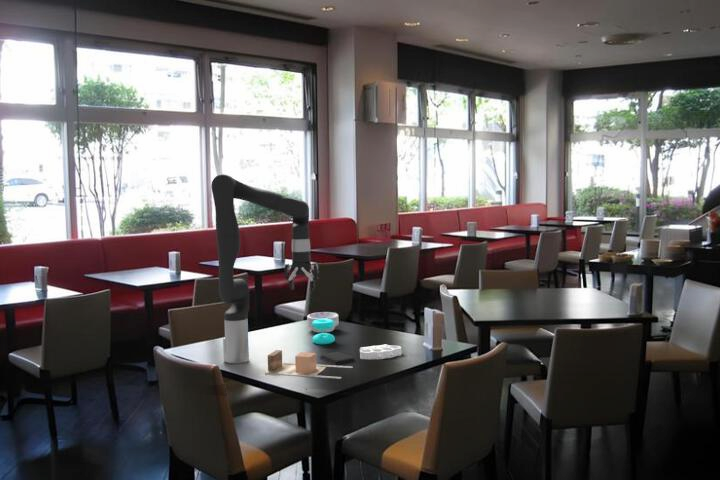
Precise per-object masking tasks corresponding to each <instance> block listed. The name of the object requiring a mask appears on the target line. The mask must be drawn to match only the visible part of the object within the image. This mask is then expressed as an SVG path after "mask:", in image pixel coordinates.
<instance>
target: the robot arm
mask: <svg viewBox="0 0 720 480" xmlns="http://www.w3.org/2000/svg"><path fill="white" fill-rule="evenodd" d="M210 188H211V192H212V198H213V203H214V209H215V235H216V236H215V237H216V246H217V247H216V248H217V256H218V257H217V258H218V260H217V261H218V294H219V298H220V300H221V302H222V303H224V304H227V305H228V304H231V306H230V307H229V308H228V309H227V310H225V312H224V314H223V315H224V317H223V318H224V338H223V339H222V346H223V347H222V349H223V362H225V363H228V364H241V363H247V362H248V361H249V360H250V356H249V355H250V352H249V351H250V348H249V324H248V321H249V320H248V318H249V317H248V314H249V311H250V287H249V285H248V282H247V281H246V280H245V279H243V278H234V268H235V263H236V261H237V258H238V255H239V253H240V250H241V234H240V227H239V224H238V220H237V216H236V213H235V205H234V203H235V202H234V201H235V199H236V200H242V201H245V202H249V203H251V204H254V205H256V206H259V207H261V208H264V209H267V210H271V211H274V212H278V213H282V214H285V215H287V216H289V217H291V218H292V227H291V264H289V263H286V264H285V265H284V276H283V277H284V279H285V280H288V284H289V285H288V287H289V289H290V290H291V291H293V290H295V280H294V279H295V277H296V276H306V277H307V278H308V279H309V280H310V281H309V289H310V291H314V289H316V281H317V280H318V279H320V271H319V269H320V268H319V264H317V263H316V264H311V263H312V262H311V260H312V259H311V241H310V228H309V227H310V226H309V224H310V206H309V205H308V203H307V202H306V201H304V200H298V199H295V198H291V197H287V196H286V195H283V194H280V193H279V192H278V193H277V192H274V191H271V190H267V189H262V188H258V187H254V186H251V185H248V184H245V183H243V182H241V181H240V180H236V179H235V178H233V176H230V175H228V174H223V173H221V174H217V175H216V176H214V177H213V180H212V182H211V187H210ZM291 269H292V270H293V271H292V272H290V271H291ZM311 269H312V270H313V272H312V271H311ZM290 273H291V274H290Z"/></svg>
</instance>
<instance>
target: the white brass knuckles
mask: <svg viewBox="0 0 720 480" xmlns="http://www.w3.org/2000/svg"><path fill="white" fill-rule="evenodd" d="M397 356H398V357H400V356H402V347H401V346H400V345H389V344H385V343H383V344H380V345H371V346H363V347H362V346H361V347H360V348H359V359H360V360H385V359H391V358H394V357H397Z"/></svg>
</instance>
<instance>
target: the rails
mask: <svg viewBox="0 0 720 480" xmlns="http://www.w3.org/2000/svg"><path fill="white" fill-rule="evenodd" d="M282 364H287V365H295V362H282ZM316 366H320V367H326V368H327V367H328V368H340V369H342V368H343V369H353V366H349V365H335V364H319V363H318V364H317V363H316ZM268 375H276V376H277V375H278V376H292V377H307V378H322V379H337V380H340V379H342V376H333V375H331V376H330V375H329V376H328V375H318V374H317V375H301V374H286V373H271V372H269V373H268Z"/></svg>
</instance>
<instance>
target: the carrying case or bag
mask: <svg viewBox="0 0 720 480" xmlns="http://www.w3.org/2000/svg"><path fill="white" fill-rule="evenodd" d="M319 359H320V360H323V361H325V362H328V363H330V364H331V365H334V366H343V365H347V364H352V363H355V362H357V360H356V358H355V357H354V356H353V357H352V356H351V355H348V354H345V353H342V352H339V351H333V352H326V353H323V354H321V355H320V357H319Z"/></svg>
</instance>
